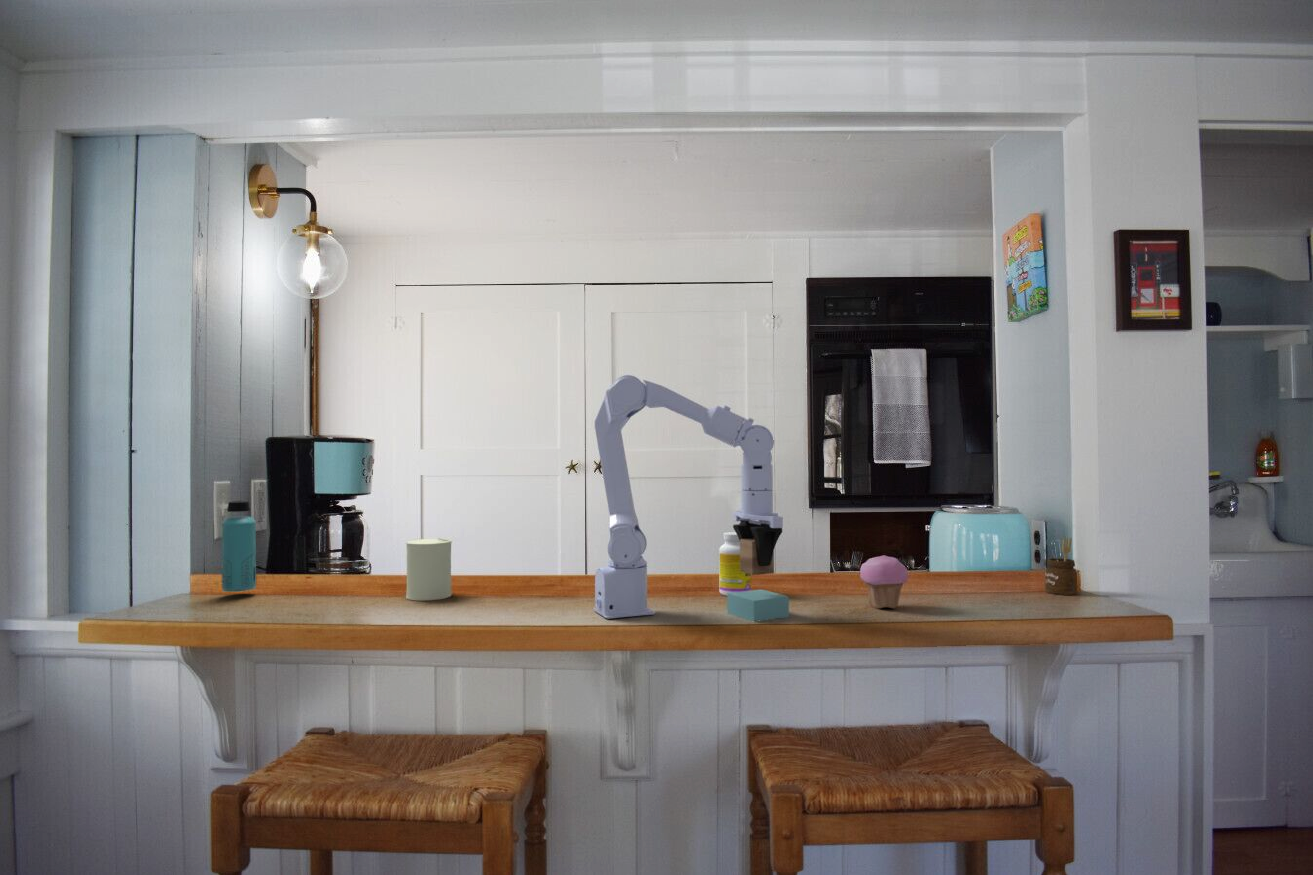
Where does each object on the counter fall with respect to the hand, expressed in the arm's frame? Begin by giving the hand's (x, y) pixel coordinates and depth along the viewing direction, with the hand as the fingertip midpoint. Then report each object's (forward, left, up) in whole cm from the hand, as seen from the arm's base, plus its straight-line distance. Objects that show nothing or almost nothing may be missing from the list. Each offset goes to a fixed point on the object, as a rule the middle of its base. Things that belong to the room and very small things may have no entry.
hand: (757, 563), depth 135 cm
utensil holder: (+69, -7, -10) cm, 71 cm away
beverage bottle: (-92, +58, -10) cm, 109 cm away
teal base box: (0, 0, -10) cm, 10 cm away
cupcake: (+25, -4, -10) cm, 28 cm away
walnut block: (0, 0, -2) cm, 2 cm away
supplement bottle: (+5, +19, -10) cm, 22 cm away
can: (-55, +42, -10) cm, 69 cm away
